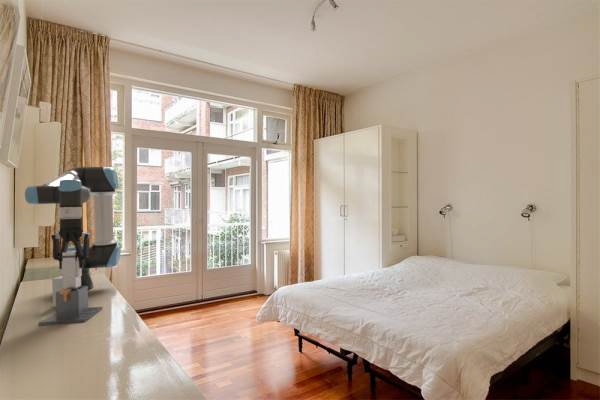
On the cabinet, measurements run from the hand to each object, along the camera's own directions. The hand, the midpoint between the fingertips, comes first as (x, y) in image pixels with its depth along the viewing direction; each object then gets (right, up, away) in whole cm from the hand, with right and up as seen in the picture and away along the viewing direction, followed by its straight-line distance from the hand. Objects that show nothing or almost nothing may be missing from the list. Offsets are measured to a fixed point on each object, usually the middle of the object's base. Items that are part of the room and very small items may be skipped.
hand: (72, 276), depth 136 cm
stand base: (0, -16, 0) cm, 16 cm away
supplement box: (-14, -16, +17) cm, 27 cm away
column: (0, -12, 0) cm, 12 cm away
